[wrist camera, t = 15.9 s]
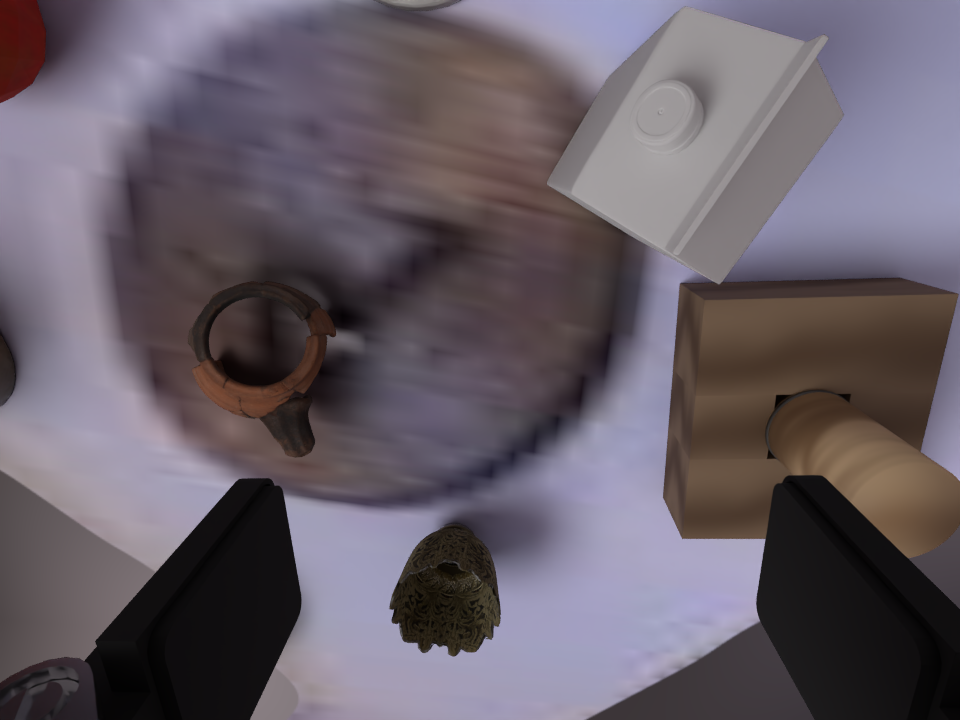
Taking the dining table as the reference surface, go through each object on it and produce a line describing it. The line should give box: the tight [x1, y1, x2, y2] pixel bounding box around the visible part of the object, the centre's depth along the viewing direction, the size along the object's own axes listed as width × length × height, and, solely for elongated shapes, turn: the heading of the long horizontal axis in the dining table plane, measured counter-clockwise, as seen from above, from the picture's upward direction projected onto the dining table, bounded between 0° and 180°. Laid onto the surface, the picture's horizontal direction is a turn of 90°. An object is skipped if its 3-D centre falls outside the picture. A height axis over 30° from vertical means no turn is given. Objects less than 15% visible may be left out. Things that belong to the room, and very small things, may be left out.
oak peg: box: [765, 389, 960, 558], centre depth 32 cm, size 5×5×14 cm
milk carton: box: [547, 6, 844, 284], centre depth 26 cm, size 7×7×19 cm
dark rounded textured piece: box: [390, 524, 501, 656], centre depth 41 cm, size 8×7×8 cm
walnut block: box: [663, 278, 958, 539], centre depth 37 cm, size 16×14×5 cm
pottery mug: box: [188, 281, 336, 457], centre depth 38 cm, size 12×9×8 cm
